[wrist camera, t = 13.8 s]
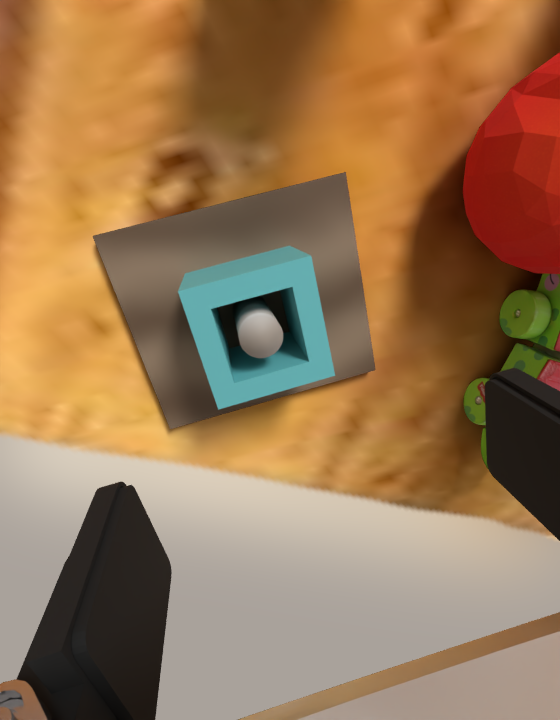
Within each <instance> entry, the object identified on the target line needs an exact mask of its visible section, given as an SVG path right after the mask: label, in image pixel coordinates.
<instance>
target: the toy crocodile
mask: <svg viewBox="0 0 560 720" xmlns="http://www.w3.org/2000/svg"><path fill="white" fill-rule="evenodd" d="M499 321H500V325H501V328H502V330H503V332H504V333H505V334H506V335H508V336H510V337H512V338H520V339H527V340H529V341H531V342H533V343H534V344H533V347H529V346H526V345H523V344H521V343H516V344H515V346H514V348H513V350H512V352H511V353H510V355H509V357H508V359H507V360H506V362H505V364H504V366H503V367H502V369H501V371H504V370H507V369H511V368H517V369H519V370H521V371H523V372H525V373H527V374H529V375H531V376H532V377H534V378H536V379H538V380H540V381H542V382H544V383H546V384H547V385H549V386H551V387H553V388H555V389H557V390H559V391H560V274H544V273H543V274H542V277H541V280H540V283H539V285H538V288H537V291H533V290H525V289H522V290H517V291H514V292H512V293H511V294H510V295H509V296H508V297H507V298H506V299H505V301H504V303H503V305H502V307H501V310H500V319H499ZM487 381H489V378H478V379H476V380H474V381H472V382H471V383H470V385H469V386H468V387H467V390H466V392H465V395H464V401H463V402H464V410H465V413H466V415H467V417H468V418H469V419H470V421H472V422H473V423H475V424H478V425H486V420H485V383H486V382H487ZM481 454H482V458H483V461H484V463H485V465H486V467H487V468H488V466H487V455H486V427H484V428H483V431H482V438H481Z"/></svg>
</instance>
